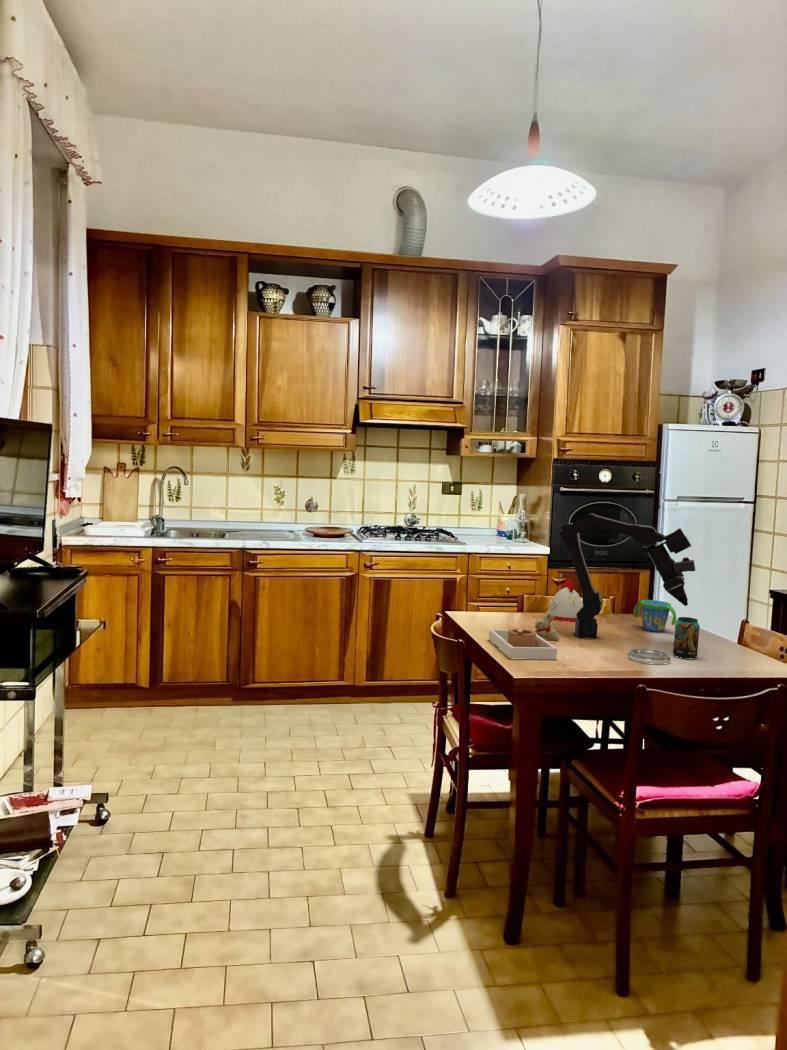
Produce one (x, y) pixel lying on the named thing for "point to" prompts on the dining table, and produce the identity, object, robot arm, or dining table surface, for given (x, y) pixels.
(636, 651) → the shallow metal dish
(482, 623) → the dining table surface
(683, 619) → the beverage can
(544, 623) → the chocolate bunny
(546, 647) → the gray rectangular tray
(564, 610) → the kitchen timer
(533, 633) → the bracket
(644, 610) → the snack cup
